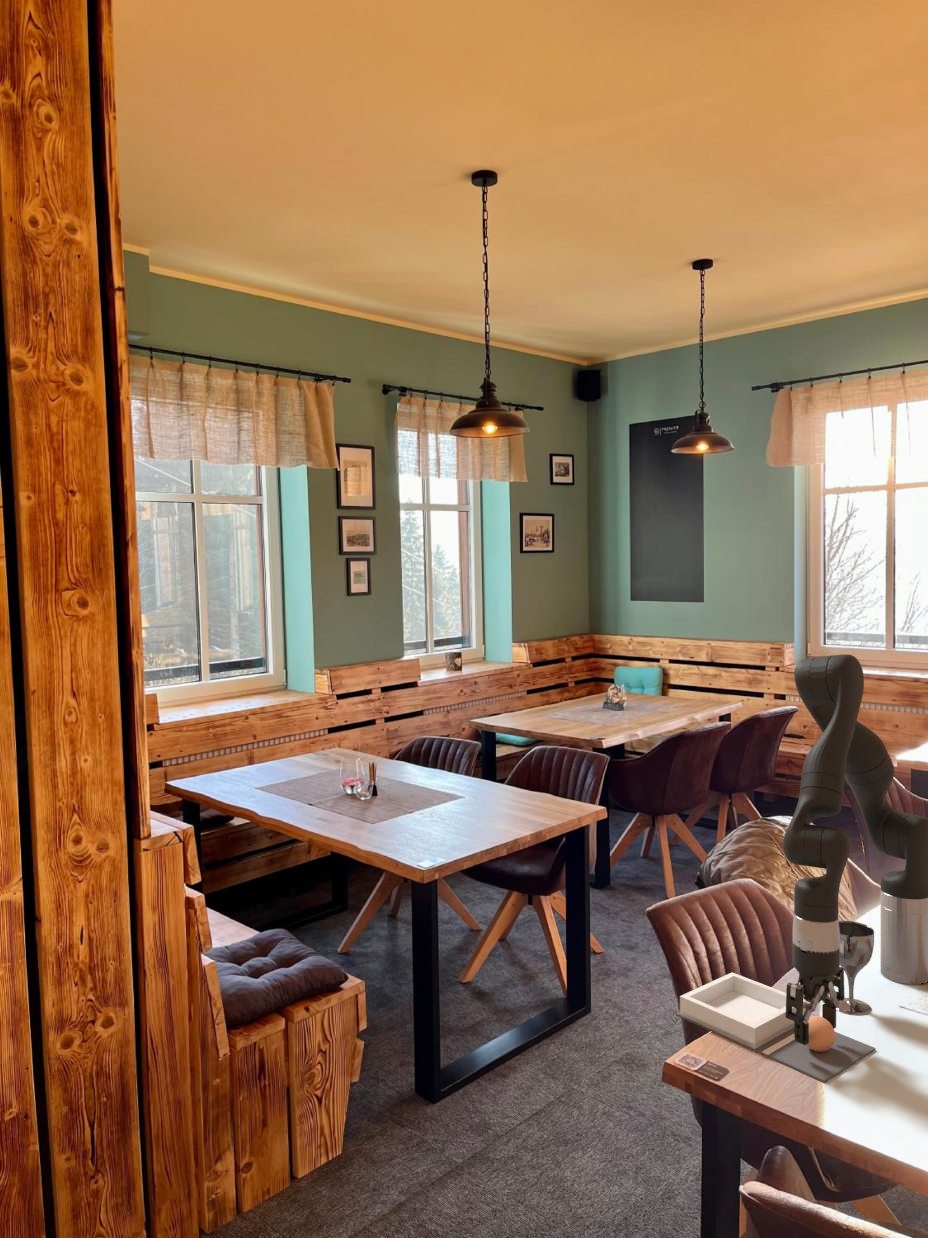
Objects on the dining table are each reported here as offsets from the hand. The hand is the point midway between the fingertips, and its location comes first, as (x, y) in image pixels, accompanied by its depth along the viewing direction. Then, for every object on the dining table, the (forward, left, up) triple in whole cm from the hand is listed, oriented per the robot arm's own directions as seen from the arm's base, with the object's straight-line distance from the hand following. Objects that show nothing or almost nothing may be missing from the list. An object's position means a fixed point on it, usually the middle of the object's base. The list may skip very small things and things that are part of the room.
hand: (815, 1035), depth 156 cm
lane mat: (0, -9, -3) cm, 9 cm away
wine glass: (-20, -5, -3) cm, 21 cm away
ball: (0, 0, 0) cm, 0 cm away
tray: (0, -15, -3) cm, 15 cm away
